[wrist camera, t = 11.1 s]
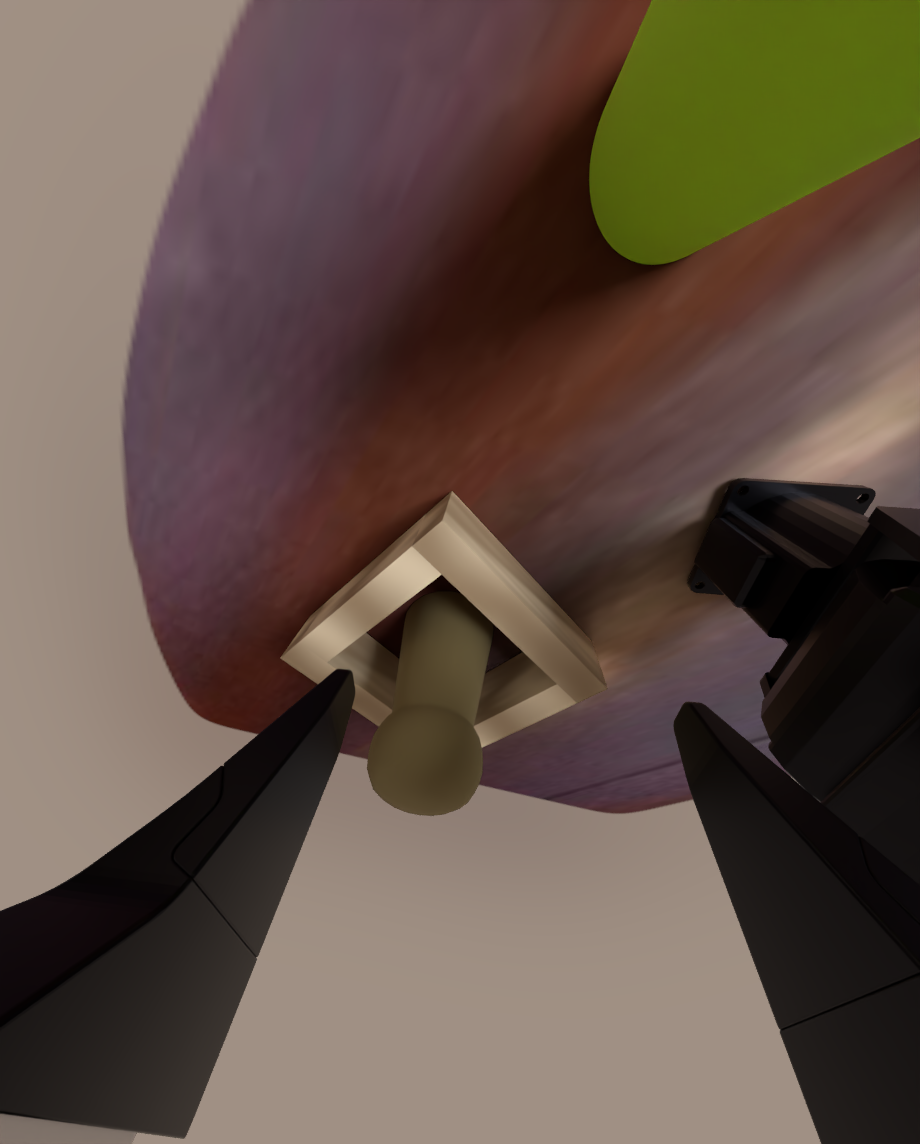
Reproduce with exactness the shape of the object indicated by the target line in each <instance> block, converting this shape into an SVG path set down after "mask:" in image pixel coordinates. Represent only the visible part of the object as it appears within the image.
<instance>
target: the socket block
mask: <svg viewBox="0 0 920 1144" xmlns="http://www.w3.org/2000/svg"><path fill="white" fill-rule="evenodd" d="M440 575H443V576H444V577H445V578H446V579H447V580H448V581H449V582H450V583H451V584H452V585H453V586H454V587H455V588H456V589H458V590H459V591H460V592H461V593H462V594H463V595H464V596H465V597H466V598H467V599H468V600H469V601H470V602H471V603H472V604H473V605H474V606H475V607H476V608H477V609H479V610H480V611H481V612H482V613H483V614H484V615H485V616H486V617H487V618H488V619H489V620H490V621H491V622H492V623H493V624H494V625H495V626H496V627H497V628H499V629H500V630H501V631H502V632H503V633H504V634H505V635H506V636H507V637H508V638H509V639H510V640H511V641H512V642H513V643H514V644H515V645H516V646H517V647H518V648H520V649H521V650H522V651H523V652H522V653H520V654H519V655H517V656H515V657H513V658H512V659H510V660H508V661H506V662H505V663H503V664H501V665H499V666H498V667H496V668H494V669H492V670H491V671H489V672H487V673H485V676H484V681H483V685H482V690H481V695H480V699H479V704H478V709H477V714H476V718H475V723H474V729H475V731H476V732H477V734H478V736H479V738H480V743H481V747H484V746H487V745H489V744H491V743H493V742H495V741H497V740H499V739H502V738H504V737H506V736H508V735H510V734H512V733H514V732H517V731H519V730H521V729H523V728H525V727H527V726H529V725H532V724H534V723H536V722H538V721H540V720H542V719H544V718H547V717H549V716H551V715H553V714H555V713H557V712H559V711H562V710H564V709H566V708H568V707H570V706H572V705H574V704H577V703H579V702H581V701H583V700H585V699H587V698H589V697H591V696H594V695H596V694H598V693H600V692H602V691H604V690H606V689H607V686H606V683H605V680H604V677H603V674H602V671H601V668H600V665H599V661H598V658H597V655H596V652H595V649H594V646H593V643H592V641H591V640H590V639H589V638H588V637H587V635H586V634H585V633H584V632H583V631H582V630H581V629H580V628H579V627H578V626H577V625H576V624H575V623H574V622H573V620H572V619H571V618H570V617H569V616H568V615H567V614H566V613H565V612H564V611H563V610H562V609H561V608H560V606H559V605H558V604H557V603H556V602H555V601H554V600H553V599H552V598H551V597H550V596H549V595H548V594H547V593H546V591H545V590H544V589H543V588H542V587H541V586H540V585H539V584H538V583H537V582H536V581H535V580H534V579H533V577H532V576H531V575H530V574H529V573H528V572H527V571H526V570H525V569H524V568H523V567H522V566H521V565H520V563H519V562H518V561H517V560H516V559H515V558H514V557H513V556H512V555H511V554H510V553H509V552H508V551H507V550H506V548H505V547H504V546H503V545H502V544H501V543H500V542H499V541H498V540H497V539H496V538H495V537H494V536H493V534H492V533H491V532H490V531H489V530H488V529H487V528H486V527H485V526H484V525H483V524H482V523H481V522H480V521H479V519H478V518H477V517H476V516H475V515H474V514H473V513H472V512H471V511H470V510H469V509H468V508H467V507H466V505H465V504H464V503H463V502H462V501H461V500H460V499H459V498H458V497H457V496H456V495H455V494H454V493H453V491H451V492H450V493H449V494H448V495H447V496H446V497H445V498H444V499H442V500H441V501H440V502H439V503H438V504H437V505H436V506H434V507H433V508H432V509H431V510H430V511H429V512H428V513H427V514H425V515H424V516H423V517H422V518H421V519H420V520H419V521H417V522H416V523H415V524H414V525H413V526H412V527H411V528H410V529H408V530H407V531H406V532H405V533H404V534H403V535H402V536H400V537H399V538H398V539H397V540H396V541H395V542H394V543H392V544H391V545H390V546H389V547H388V548H387V549H386V550H385V551H383V552H382V553H381V554H380V555H379V556H378V557H377V558H375V559H374V560H373V561H372V562H371V563H370V564H369V565H368V566H366V567H365V568H364V569H363V570H362V571H361V572H360V573H358V574H357V575H356V576H355V577H354V578H353V579H352V580H351V581H349V582H348V583H347V584H346V585H345V586H344V587H343V588H341V589H340V590H339V591H338V592H337V593H336V594H335V595H333V596H332V597H331V598H330V599H329V600H328V601H327V602H326V603H324V604H323V605H322V606H321V607H320V608H319V609H318V610H316V611H315V612H314V613H313V614H312V615H311V616H310V617H309V618H308V620H307V621H306V622H305V624H304V625H303V627H302V628H301V629H300V631H299V632H298V634H297V635H296V637H295V638H294V639H293V641H292V642H291V644H290V645H289V646H288V648H287V649H286V651H285V652H284V653H283V655H282V656H281V659H282V660H284V661H285V662H287V663H288V664H289V665H291V666H292V667H294V668H295V669H297V670H298V671H299V672H301V673H302V674H304V675H305V676H307V677H308V678H310V679H311V680H312V681H314V682H315V683H317V684H319V683H320V682H321V681H323V680H324V679H325V678H326V677H327V676H328V675H330V674H331V673H332V672H333V671H334V670H336V669H349V670H351V671H352V672H353V678H354V684H355V698H354V702H353V706H352V708H353V709H354V710H356V711H357V712H358V713H360V714H361V715H363V716H364V717H366V718H367V719H369V720H370V721H371V722H373V723H374V724H376V725H377V726H380V725H381V723H382V722H383V721H384V720H385V719H386V717H387V716H388V715H390V714H391V713H392V709H393V702H394V694H395V687H396V680H397V673H398V665H399V658H397V657H396V656H395V655H393V654H392V653H391V652H390V651H388V650H387V649H386V648H385V647H383V646H382V645H381V644H380V643H378V642H377V641H376V640H375V639H373V638H372V637H371V636H370V635H368V634H367V633H366V632H367V631H369V630H370V629H371V628H372V627H374V626H375V625H376V624H378V623H379V622H380V621H382V620H383V619H384V618H386V617H387V616H388V615H389V614H391V613H392V612H393V611H395V610H396V609H397V608H399V607H400V606H401V605H402V604H404V603H405V602H406V601H408V600H409V599H410V598H412V597H413V596H414V595H416V594H417V593H418V592H419V591H421V590H422V589H423V588H425V587H426V586H427V585H429V584H430V583H431V582H433V581H434V580H435V579H436V578H438V577H439V576H440Z"/></svg>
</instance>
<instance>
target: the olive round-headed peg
mask: <svg viewBox="0 0 920 1144" xmlns="http://www.w3.org/2000/svg"><path fill="white" fill-rule="evenodd" d="M492 638H493V623H492V622H491V621H490V620H489V619H488V618H487V617H486V616H485V615H484V614H483V613H482V612H481V611H480V610H479V609H477V608H476V607H475V606H474V605H473V604H472V603H471V602H470V601H469V600H468V599H467V598H466V597H465V596H464V595H463V594H461V593H457V592H453V591H437V592H434V593H430V594H427V595H424V596H422V597H421V598H419V599H418V600H416V601H415V602H413V604H412V605H411V607H410V608H409V609H408V611H407V613H406V618H405V622H404V629H403V636H402V644H401V651H400V658H399V665H398V673H397V680H396V687H395V694H394V702H393V709H392V713H391V714H390V715H388V716H387V717H386V719H385V720H384V721H383V722H382V723H381V725H380V726H379V728H378V729H377V731H376V732H375V734H374V736H373V739H372V742H371V745H370V749H369V754H368V764H367V770H368V774H369V778H370V781H371V784H372V787H373V790H374V791H375V792H376V793H377V794H378V795H379V796H380V797H381V798H382V799H383V800H384V801H385V802H387V803H388V804H390V805H391V806H393V807H394V808H397V809H399V810H402V811H404V812H408V813H412V814H417V815H428V816H434V815H442V814H446V813H449V812H452V811H454V810H457V809H460V808H461V807H462V806H464V805H465V804H467V803H468V802H469V800H470V799H471V797H472V796H473V794H474V793H475V791H476V789H477V787H478V785H479V783H480V779H481V776H482V769H483V757H482V747H481V743H480V738H479V736H478V734H477V732H476V731H475V729H474V723H475V718H476V714H477V709H478V704H479V699H480V695H481V690H482V685H483V681H484V676H485V671H486V666H487V662H488V657H489V652H490V648H491V643H492Z"/></svg>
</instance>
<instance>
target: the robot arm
mask: <svg viewBox="0 0 920 1144" xmlns="http://www.w3.org/2000/svg"><path fill="white" fill-rule="evenodd" d="M742 486H744V489H743V491H741V492H740V493H737V492H738V489H739V488H740V487H742ZM861 494H862V495H861ZM860 495H861V497H860V498H859V499H857V498H858V497H859V496H860ZM874 497H875V491H874V490H873V489H871V488H868V487H865V486H859V485H843V484H828V483H812V482H796V481H780V480H764V479H749V478H740V479H737V480H735V481H733V482H732V483H731V484H730V486H729V487H728V489H727V491H726V494H725V496H724V498H723V501H722V503H721V505H720V508H719V510H718V512H717V515H716V517H715V519H714V520H713V521H712V522H711V524H710V526H709V529H708V531H707V533H706V536H705V538H704V540H703V543H702V545H701V547H700V550H699V552H698V554H697V557H696V559H695V565H694V568H693V570H692V572H691V575H690V577H689V579H688V582H687V584H688V587H689V588H690V589H691V590H692V591H693V592H696V593H707V594H719V595H725V596H726V597H727V598H728V599H729V600H730V601H731V602H732V603H733V604H734V606H736V607H739V608H742V609H743V610H744V611H745V612H746V613H747V614H748V615H749V616H750V617H751V618H752V619H753V621H754V622H755V623H756V624H757V625H758V626H759V627H760V628H761V629H762V630H763V631H764V632H765V633H766V634H767V635H768V636H769V637H772V638H781V639H782V640H783V641H784V642H785V643H786V644H787V645H788V646H787V647H786V649H785V650H784V652H783V653H782V655H781V656H780V657H779V659H778V660H777V662H776V663H775V665H774V666H773V668H772V669H771V671H770V672H767V673H765V675H764V676H763V678H762V679H761V681H760V685H761V688H762V691H763V694H764V697H765V699H764V700H763V701H762V712H761V718H762V721H763V723H764V726H765V728H766V731H767V733H768V736H769V738H770V739H771V742H770V743H769V746H768V747H769V750H770V751H771V753H772V754H773V755H774V756H775V758H776V759H777V760H778V762H779V763H780V764H781V765H782V767H783V768H784V769H785V770H786V772H787V773H788V774H789V775H790V776H791V777H792V778H794V779H795V780H796V781H797V782H798V783H799V784H800V785H801V786H800V785H799V784H798V783H797V782H796V781H794V780H793V779H792V778H791V777H790V776H789V775H787V774H786V773H785V772H784V771H783V770H782V769H780V768H779V767H778V766H777V765H776V764H774V763H773V762H772V761H771V760H770V759H768V758H767V757H766V756H765V755H764V754H763V753H761V752H760V751H759V750H758V749H757V748H755V747H754V746H753V745H752V744H751V743H749V742H748V741H747V740H746V739H745V738H744V737H742V736H741V735H740V734H739V733H738V732H736V731H735V730H734V729H733V728H732V727H731V726H729V725H728V724H727V723H726V722H725V721H723V720H722V719H721V718H720V717H719V716H717V715H716V714H715V713H714V712H713V711H712V710H710V709H709V708H708V707H707V706H706V705H704V704H702V703H697V702H685V703H684V704H683V705H682V707H681V709H680V711H679V713H678V715H677V716H676V718H675V720H674V732H675V736H676V740H677V744H678V748H679V751H680V755H681V759H682V763H683V767H684V770H685V774H686V778H687V782H688V785H689V788H690V791H691V794H692V797H693V800H694V803H695V805H696V808H697V811H698V813H699V816H700V819H701V821H702V824H703V826H704V829H705V832H706V835H707V837H708V840H709V843H710V845H711V848H712V851H713V854H714V856H715V859H716V862H717V864H718V867H719V870H720V872H721V875H722V877H723V880H724V883H725V885H726V888H727V891H728V894H729V896H730V899H731V902H732V905H733V907H734V910H735V913H736V915H737V918H738V921H739V923H740V926H741V929H742V931H743V934H744V937H745V939H746V942H747V945H748V947H749V950H750V953H751V956H752V958H753V961H754V964H755V966H756V969H757V972H758V974H759V977H760V980H761V982H762V985H763V988H764V990H765V993H766V996H767V999H768V1001H769V1004H770V1007H771V1009H772V1012H773V1014H774V1017H775V1020H776V1023H777V1025H778V1027H779V1029H780V1034H781V1037H782V1040H783V1042H784V1044H785V1047H786V1050H787V1053H788V1055H789V1058H790V1061H791V1064H792V1066H793V1069H794V1072H795V1074H796V1077H797V1080H798V1082H799V1085H800V1088H801V1090H802V1093H803V1096H804V1099H805V1101H806V1104H807V1107H808V1109H809V1112H810V1114H811V1117H812V1120H813V1123H814V1125H815V1128H816V1131H817V1133H818V1136H819V1139H820V1142H821V1144H920V509H912V508H897V507H882V506H878V507H876V508H875V510H874V511H873V513H872V514H871V516H870V517H869V518H868V517H866V516H864V513H865V512H866V510H867V509H868V507H869V506H870V504H871V503H872V501H873V500H874ZM698 582H701V583H700V584H699V585H696V584H697V583H698ZM354 698H355V684H354V678H353V672H352V671H351V670H349V669H336V670H334V671H333V672H332V673H331V674H330V675H328V676H327V677H326V678H325V679H324V680H323V681H321V682H320V683H319V684H318V685H317V686H315V687H314V688H313V689H312V690H311V691H309V692H308V693H307V694H306V695H305V696H304V697H302V698H301V699H300V700H299V701H298V702H296V703H295V704H294V705H293V706H292V707H290V708H289V709H288V710H287V711H286V712H285V713H283V714H282V715H281V716H280V717H279V718H277V719H276V720H275V721H274V722H273V723H271V724H270V725H269V726H268V727H267V728H266V729H264V730H263V731H262V732H261V733H260V734H258V735H257V736H256V737H255V738H254V739H252V740H251V741H250V742H249V743H248V744H247V745H245V746H244V747H243V748H242V749H241V750H239V751H238V752H237V753H236V754H235V755H233V756H232V757H231V758H230V759H229V760H228V761H226V762H225V763H224V766H220V767H219V768H218V769H217V770H216V771H214V772H213V773H212V774H211V775H210V776H209V777H207V778H206V779H205V780H204V781H202V782H201V783H200V784H199V785H197V786H196V787H195V788H194V789H192V790H191V791H190V792H189V793H188V794H186V795H185V796H184V797H182V798H181V799H180V800H178V801H177V802H176V803H174V804H173V805H172V806H171V807H169V808H168V809H167V810H165V811H164V812H163V813H161V814H160V815H159V816H157V817H156V818H155V819H153V820H152V821H151V822H149V823H148V824H146V825H145V826H144V827H142V828H141V829H140V830H138V831H137V832H135V833H134V834H133V835H131V836H130V837H129V838H127V839H126V840H124V841H123V842H122V843H120V844H119V845H118V846H116V847H115V848H113V849H112V850H111V851H109V852H108V853H107V854H105V855H104V856H103V857H101V858H100V859H98V860H97V861H96V862H94V863H93V864H91V865H90V866H89V867H87V868H86V869H84V870H83V871H81V872H80V873H78V874H77V875H75V876H74V877H72V878H70V879H69V880H67V881H66V882H64V883H62V884H60V885H58V886H57V887H55V888H53V889H51V890H49V891H47V892H45V893H43V894H41V895H39V896H36V897H34V898H31V899H29V900H26V901H24V902H22V903H19V904H16V905H14V906H11V907H9V908H6V909H4V910H2V911H0V1144H132V1142H133V1140H134V1138H135V1136H136V1134H137V1132H138V1133H145V1134H152V1135H160V1136H167V1137H174V1138H182V1139H184V1138H185V1137H186V1135H187V1133H188V1130H189V1128H190V1126H191V1123H192V1121H193V1118H194V1116H195V1114H196V1111H197V1109H198V1106H199V1104H200V1101H201V1098H202V1096H203V1093H204V1091H205V1088H206V1086H207V1083H208V1081H209V1078H210V1076H211V1073H212V1071H213V1068H214V1066H215V1063H216V1061H217V1058H218V1056H219V1053H220V1051H221V1048H222V1046H223V1043H224V1041H225V1038H226V1036H227V1033H228V1031H229V1028H230V1025H231V1023H232V1021H233V1018H234V1016H235V1013H236V1010H237V1008H238V1006H239V1003H240V1000H241V998H242V995H243V993H244V991H245V988H246V986H247V983H248V981H249V978H250V976H251V973H252V971H253V968H254V966H255V963H256V960H257V958H256V957H258V955H259V953H260V950H261V947H262V945H263V943H264V940H265V938H266V935H267V933H268V930H269V927H270V925H271V923H272V920H273V917H274V915H275V912H276V910H277V907H278V905H279V902H280V900H281V897H282V895H283V892H284V890H285V887H286V885H287V882H288V880H289V877H290V874H291V872H292V870H293V867H294V865H295V862H296V860H297V857H298V855H299V852H300V850H301V847H302V845H303V842H304V840H305V837H306V835H307V832H308V830H309V827H310V825H311V822H312V819H313V817H314V815H315V812H316V810H317V807H318V805H319V802H320V800H321V797H322V795H323V792H324V789H325V787H326V784H327V782H328V780H329V777H330V775H331V772H332V770H333V767H334V764H335V762H336V760H337V757H338V754H339V751H340V748H341V745H342V741H343V738H344V734H345V731H346V727H347V724H348V720H349V716H350V713H351V709H352V706H353V702H354ZM819 801H820V802H819Z"/></svg>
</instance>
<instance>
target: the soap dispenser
mask: <svg viewBox="0 0 920 1144" xmlns="http://www.w3.org/2000/svg"><path fill="white" fill-rule="evenodd" d="M918 138H920V0H652V1H651V3H650V6H649V8H648V10H647V13H646V15H645V17H644V19H643V22H642V24H641V26H640V28H639V31H638V33H637V35H636V38H635V40H634V42H633V44H632V47H631V49H630V51H629V53H628V56H627V58H626V60H625V63H624V65H623V67H622V69H621V72H620V74H619V76H618V78H617V81H616V83H615V85H614V88H613V90H612V92H611V94H610V97H609V99H608V101H607V103H606V106H605V108H604V111H603V113H602V116H601V118H600V121H599V124H598V127H597V131H596V134H595V138H594V143H593V147H592V153H591V160H590V171H589V188H590V198H591V204H592V209H593V213H594V216H595V219H596V222H597V225H598V227H599V229H600V231H601V233H602V235H603V236H604V238H605V239H606V241H607V242H608V243H609V245H610V246H611V247H612V248H613V249H614V250H615V251H616V252H618V253H619V254H620V255H622V256H623V257H625V258H627V259H629V260H631V261H634V262H637V263H641V264H647V265H658V264H666V263H670V262H674V261H677V260H679V259H682V258H684V257H686V256H688V255H690V254H692V253H694V252H696V251H698V250H700V249H702V248H704V247H706V246H708V245H710V244H712V243H714V242H716V241H718V240H720V239H722V238H724V237H726V236H728V235H730V234H732V233H734V232H736V231H738V230H740V229H742V228H743V227H745V226H747V225H749V224H751V223H753V222H755V221H757V220H759V219H761V218H763V217H765V216H767V215H769V214H771V213H773V212H775V211H777V210H779V209H781V208H783V207H785V206H787V205H789V204H791V203H793V202H795V201H797V200H798V199H800V198H802V197H804V196H806V195H808V194H810V193H812V192H814V191H816V190H818V189H820V188H822V187H824V186H826V185H828V184H830V183H832V182H834V181H836V180H838V179H840V178H842V177H844V176H846V175H848V174H850V173H852V172H853V171H855V170H857V169H859V168H861V167H863V166H865V165H867V164H869V163H871V162H873V161H875V160H877V159H879V158H881V157H883V156H885V155H887V154H889V153H891V152H893V151H895V150H897V149H899V148H901V147H903V146H905V145H907V144H909V143H910V142H912V141H914V140H916V139H918Z"/></svg>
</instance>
